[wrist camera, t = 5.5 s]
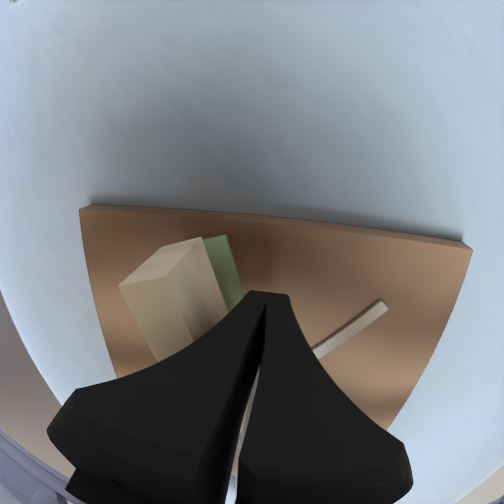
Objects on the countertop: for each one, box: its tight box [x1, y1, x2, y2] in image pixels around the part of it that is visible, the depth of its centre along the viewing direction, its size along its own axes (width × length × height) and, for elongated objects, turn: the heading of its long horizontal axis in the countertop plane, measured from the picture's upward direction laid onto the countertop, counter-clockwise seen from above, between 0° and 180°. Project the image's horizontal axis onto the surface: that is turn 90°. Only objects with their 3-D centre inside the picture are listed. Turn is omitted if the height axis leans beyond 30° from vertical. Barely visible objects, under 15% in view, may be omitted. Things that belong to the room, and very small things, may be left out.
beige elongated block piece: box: [118, 237, 260, 477], centre depth 11 cm, size 12×5×4 cm, turn 16°
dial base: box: [79, 204, 473, 430], centre depth 14 cm, size 18×18×1 cm
